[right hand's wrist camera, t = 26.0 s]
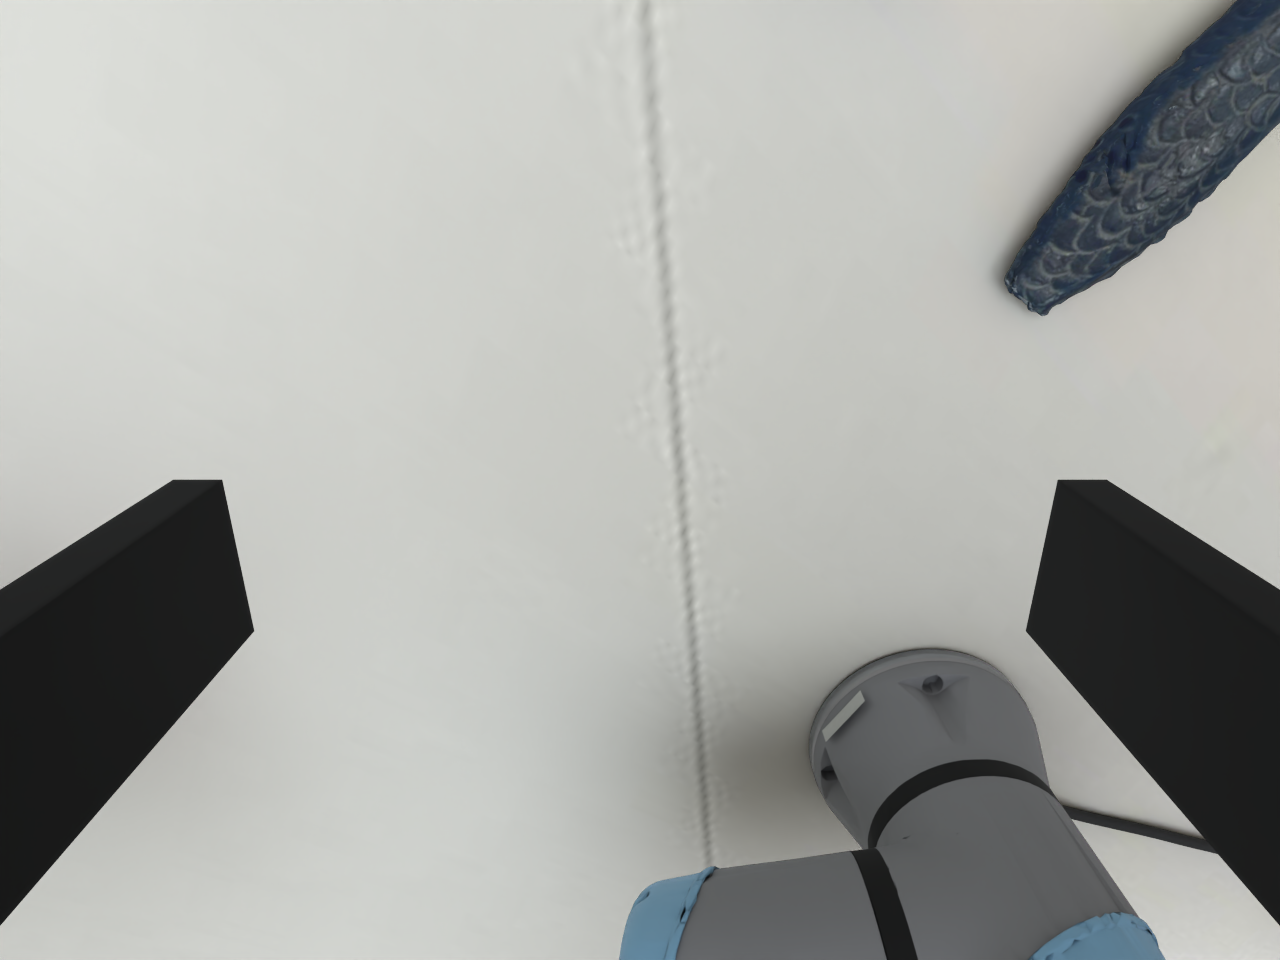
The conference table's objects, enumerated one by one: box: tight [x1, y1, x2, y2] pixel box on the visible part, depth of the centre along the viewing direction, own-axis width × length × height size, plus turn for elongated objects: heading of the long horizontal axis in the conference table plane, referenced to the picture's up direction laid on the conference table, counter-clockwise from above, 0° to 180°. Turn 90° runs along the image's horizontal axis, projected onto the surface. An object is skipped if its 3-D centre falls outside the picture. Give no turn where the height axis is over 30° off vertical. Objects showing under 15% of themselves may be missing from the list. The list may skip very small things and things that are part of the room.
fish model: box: [1004, 0, 1280, 316], centre depth 38 cm, size 7×21×5 cm, turn 143°
